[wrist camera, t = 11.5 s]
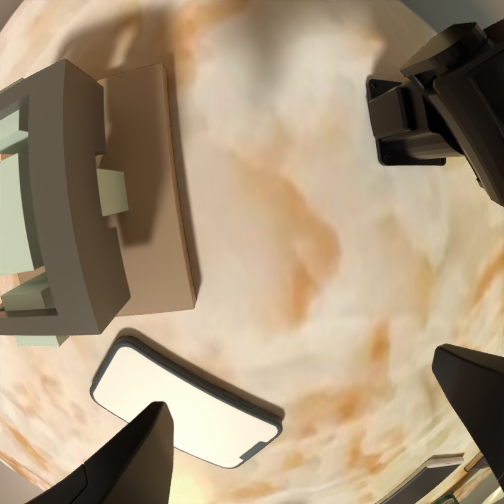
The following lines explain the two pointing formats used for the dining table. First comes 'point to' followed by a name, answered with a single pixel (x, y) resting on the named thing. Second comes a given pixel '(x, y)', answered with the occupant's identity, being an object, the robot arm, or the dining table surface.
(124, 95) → the green blocks on base
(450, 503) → the canned tomato
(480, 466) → the hardcover book
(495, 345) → the dining table surface
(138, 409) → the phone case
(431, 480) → the smartphone
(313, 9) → the dining table surface
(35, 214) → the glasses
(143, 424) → the robot arm
